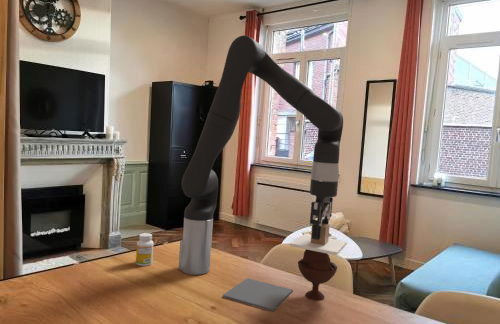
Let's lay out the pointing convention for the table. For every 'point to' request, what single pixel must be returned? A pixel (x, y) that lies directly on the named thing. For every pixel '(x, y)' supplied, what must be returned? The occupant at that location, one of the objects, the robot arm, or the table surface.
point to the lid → (320, 242)
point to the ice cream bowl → (316, 271)
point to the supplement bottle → (144, 250)
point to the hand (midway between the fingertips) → (319, 235)
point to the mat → (258, 294)
